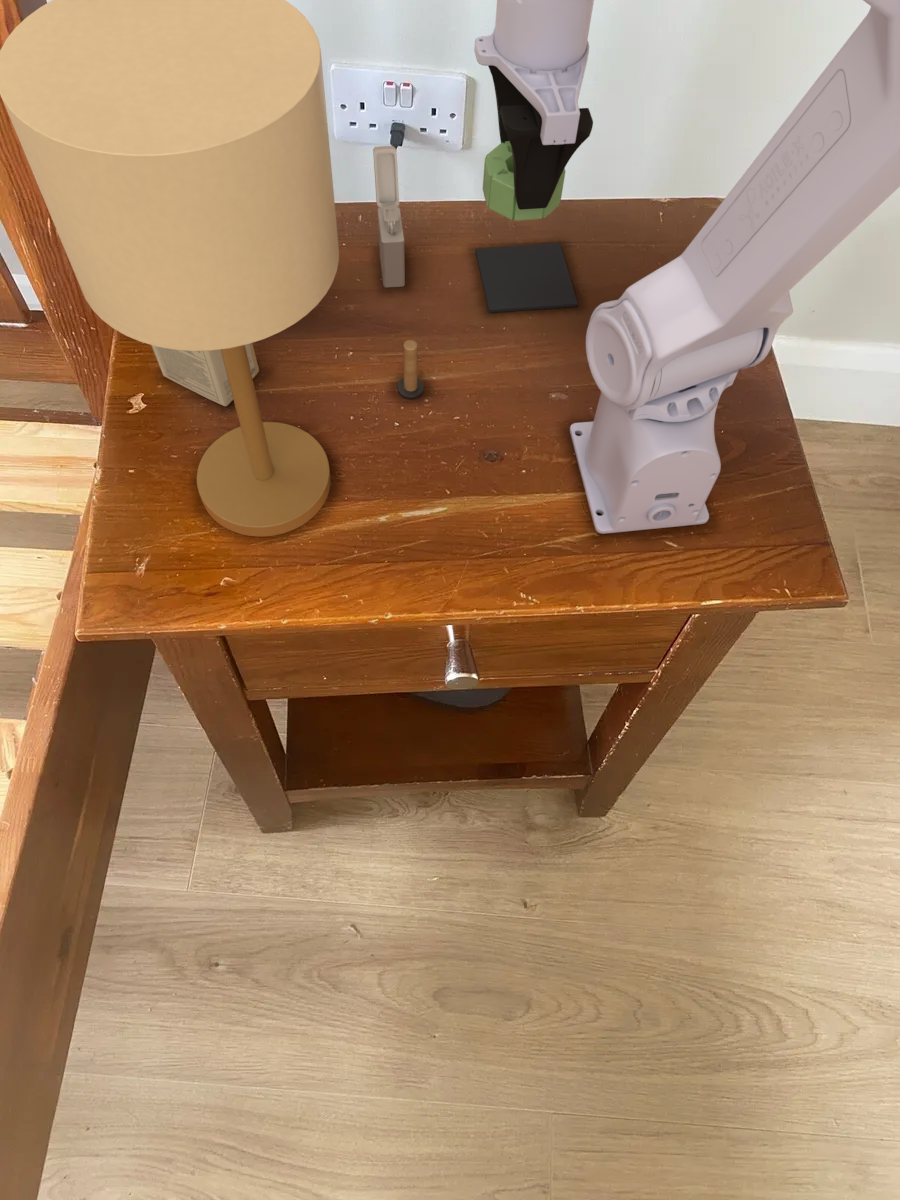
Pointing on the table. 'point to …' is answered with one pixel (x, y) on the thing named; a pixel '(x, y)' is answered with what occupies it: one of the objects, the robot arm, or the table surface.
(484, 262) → the coaster
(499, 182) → the ring
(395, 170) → the lighter
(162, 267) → the lamp
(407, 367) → the peg
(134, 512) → the table surface
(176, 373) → the cosmetic box
